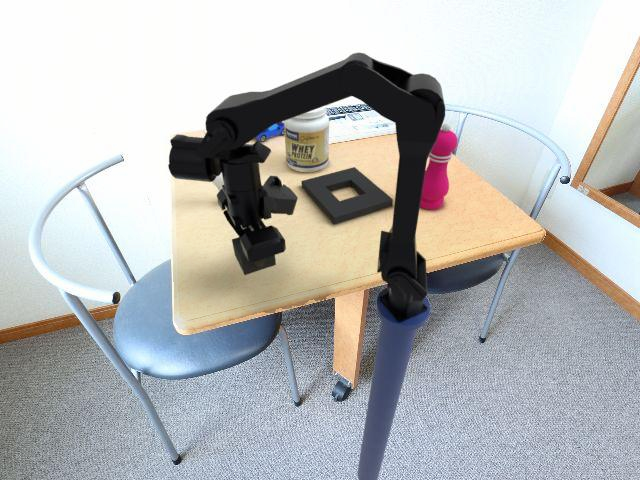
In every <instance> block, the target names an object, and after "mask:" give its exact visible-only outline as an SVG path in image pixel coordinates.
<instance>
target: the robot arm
mask: <svg viewBox="0 0 640 480" xmlns="http://www.w3.org/2000/svg"><path fill="white" fill-rule="evenodd" d="M350 97H353V98H355V99H357V100H360V101H361V102H363V103H364V104H365V105H367V106H368V107H369V108H370V109H372V110H373V111H374V112H376V113H377V114H378V115H380V116H381V117H383V118H384V119H386V120H388V121H390V122H393V123H395V135H396V143H397V144H396V145H397V150H398V165H397V176H396V183H395V185H396V186H395V193H394V194H395V195H394V204H393V205H394V206H393V215H392V225H391V228H390V230H389V231H385V230H381V231H380V238H379V245H378V246H379V248H378V258H377V259H378V260H377V269H376V272H377V273H380V276H381V279H382V281H383V282H385V283H386V284H387V285H386V288H387V291H386V292H387V294H385V295H383V296H381V297H380V301H381V302H382V303H383V304H384V306H385V307H386V308H387V309H388V310H389V312H390V313H391V314H392V315H393V316H394V318H395V319H396V320H397V321H398V322H399V323H401V322H404V321H406V320H408V319H410V318H412V317H415V316H417V315H419V314H421V313H423V312H426V311H427V309H428V308H427V306H426V305H425V304H424V303H423V301H424V298H425V297H426V298H427V296H428V275H427V259H426V258H425V257H424V256H423V255H422V254H421V253H420V252H419V251H418V247H417V235H416V234H417V228H418V221H419V215H420V209H421V206H420V203H421V196H422V190H423V183H424V177H425V171H426V169H427V163H428V159H429V157H428V156H429V154H430V152H431V150H432V149H433V147H434V145H435V143H436V141H437V138H438V135H439V132H440V130H441V129H442V126H443V125H444V121H445V118H446V104H445V98H444V93H443V87H442V85H441V82H439V81H438V79H437V78H436V77H434V76H432V75H431V74H428V73H411V72H409V71H407V70H405V69H403V68H401V67H399V66H395V65H393V64H389V63H385V62H383V61H379V60H377V59H376V58H373V57H372V56H370V55H368V54H366V53H364V52H353V53H352V54H349V56H347V57H346V58H344V59H342V60H340V61H337V62H335V63H333V64H330V65H328V66H325V67H323V68H320V69H318V70H315V71H313V72H311V73H308V74H305V75H303V76H301V77H299V78H296V79H294V80H291V81H288V82H287V83H284V84H281V85H279V86H277V87H274V88H272V89H269V90H264V91H263V90H262V91H247V92H242V93H236V94H231V95H229V96H227V97H226V98H224V100H222V102H220V103H219V104H218V105H217V106H215V108H213V109H212V110H211V111H210V112H208V113H207V116H206V117H205V119H206V120H205V124H204V125H205V129H206V131H207V133H206V135H205V134H204V136H203V137H199V136H189V135H185V134H176V135H174V136H173V137H172V138H171V139H170V146H171V148H170V151H169V156H168V164H167V165H168V166H167V167H168V171H169V173H170V175H171V177H173V178H174V179H177V180H186V181H195V182H205V183H206V182H207V183H213V182H212V181H214V180H215V178H216V177H217V176H219V175H220V174H221V172H222V177H223V181H224V185H222V189H221V190H220V191H219V190H218V192H217V194H216V198H217V202H218V206H219V207H220V210H221V211H223V212H222V213H223V215H224V217H225V219H226V222H228V224H229V225H230V226H231V228H232V229H233V231H234V232H235V233H236V235H237V236H238V237H241V236H242V238H241V239H240V241H241V243H240V246H241V248H242V250H243V252H244V254H245V255H246V257H247V259H248V261H250V262H253V263H254V264H255V265H256V266H257V267H258V268H259V267H262V266H264V263H265V259H266V258H267V257H270V256H273V255H275V256H276V255H279V254H283V253H285V251H286V250H287V244H286V239H285V237H284V236H283V235H282V233H281V231H280V230H279V229H278V227H276V226H274V225H271V224H270V225H268V226H266V224H265V223H264V221H266V220H269V219H270V220H271V219H272V214H273V215H274V214H275V215H287V216H292V215H294V212H295V209H296V205H297V202H298V198H299V197H298V196H297V195H296V194H295V192H294V191H293V190H292V189H291V188H290V187H289V186H287V185H286V184H283V182H282V180H281V179H280V177H279V176H278V175H269V177H268V178H267V179H266V180H265V181H264V183H263V184H262V178H261V171H260V164H264V163H265V162H266V160H267V159H268V157H269V156H270V154H271V153H272V150H271V148H270V147H268V146H267V145H265V144H263V142H262V141H260V140H255V139H254V138H256V137H257V136H258V135H260V134H261V133H262V132H264V131H265V130H266V129H268V128H269V127H271V126H273V125H274V124H277V123H280V122H284V121H285V120H288V119H290V118H293V117H296V116H299V115H301V114H304V113H307V112H310V111H312V110H315V109H318V108H321V107H323V106H326V107H327V106H329V105H331V104H334V103H336V102H337V103H338V102H340V101H343V100H345V99H347V98H350ZM253 140H255V142H254V143H252V144H250V143H249V142H251V141H253ZM382 298H383V299H382ZM424 308H425V309H424ZM399 319H401V320H399Z"/></svg>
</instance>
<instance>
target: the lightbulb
mask: <svg viewBox="0 0 640 480" xmlns="http://www.w3.org/2000/svg"><path fill="white" fill-rule="evenodd" d="M211 183H212V184H213V185H214V186H215V187H216V188H217V190H218V192H219V191H220V190H221V189H222V185H224V181H223V177H222V172H221V174H220V175H219V176H217V177H216V178H215V180H214V181H212V182H211Z"/></svg>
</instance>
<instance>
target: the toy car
mask: <svg viewBox="0 0 640 480" xmlns="http://www.w3.org/2000/svg"><path fill="white" fill-rule="evenodd" d="M280 134H281V135H282V136H285V132H284V121H282V122H280V123H277V124H274V125H273V126H271V127H269V128H268V129H266V130H265V131H264V132H262V133H261V134H260V135H258V136H257V137H256V138H254V139H253V140H255V141H256V140H260V142H261V143H265V142H266V141H267V139H268V138H271V137H274V136H277V135H278V136H279V135H280Z"/></svg>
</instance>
